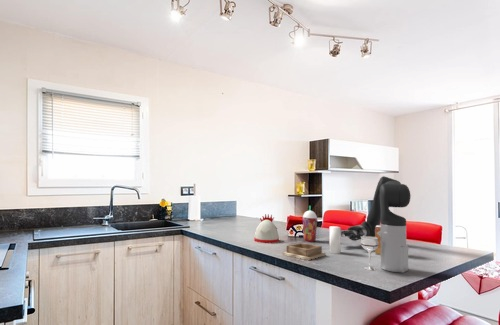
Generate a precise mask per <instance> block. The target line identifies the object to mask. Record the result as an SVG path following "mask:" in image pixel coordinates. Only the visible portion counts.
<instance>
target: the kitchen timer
mask: <svg viewBox="0 0 500 325" xmlns="http://www.w3.org/2000/svg"><path fill="white" fill-rule="evenodd" d="M259 219H260V223H259V224H258V225H257V227H256V229H255V233H254V236H253V240H254V242H257V243H261V244H275V243H279V241H280V236H279V232H278V228H277V227H276V225H275V223H274V222H273V221H274V220H275V217H273V215H272V214H270V216H269V213H268V214H266V213H265V215H262V218H261V217H260V218H259Z"/></svg>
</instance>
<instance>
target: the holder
mask: <svg viewBox="0 0 500 325" xmlns="http://www.w3.org/2000/svg"><path fill="white" fill-rule="evenodd" d="M322 249H323V248H322V246H321V245H315V244H309V243H304V242H298V243H294V244H289V245H286V251H283V252H282V256H287V257H292V258H295V257H296V259H300V258H301V260H304V259H306V260H305V261H312V260H315V258H316V259H319V258H321V257H324V256H326V255H327V253H326V252H322V251H323V250H322ZM318 257H319V258H318ZM311 259H312V260H311Z"/></svg>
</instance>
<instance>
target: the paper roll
mask: <svg viewBox="0 0 500 325" xmlns="http://www.w3.org/2000/svg"><path fill="white" fill-rule="evenodd" d="M341 230H342V227H341V226H334V225H333V226H329V245H328V246H329V253H330V254H335V255H336V254H341V251H342V250H341V249H342V247H341V246H342V245H341V242H342V240H341V238H342V237H341Z"/></svg>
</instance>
